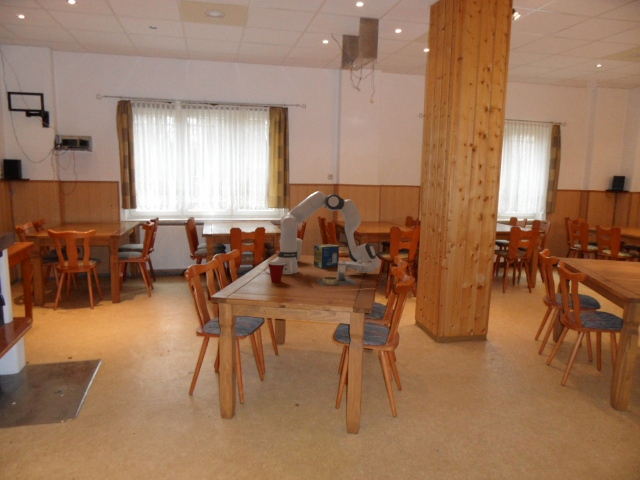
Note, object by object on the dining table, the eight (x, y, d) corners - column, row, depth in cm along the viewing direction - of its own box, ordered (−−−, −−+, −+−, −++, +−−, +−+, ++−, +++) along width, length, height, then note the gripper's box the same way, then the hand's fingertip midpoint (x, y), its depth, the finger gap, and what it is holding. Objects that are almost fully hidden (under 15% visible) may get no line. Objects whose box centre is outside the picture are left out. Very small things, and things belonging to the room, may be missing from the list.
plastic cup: (288, 281, 280) (289, 262, 278) (277, 284, 271) (277, 264, 269) (275, 278, 286) (275, 260, 284) (263, 282, 277) (263, 262, 275)
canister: (295, 265, 332) (296, 236, 329) (274, 262, 340) (274, 234, 337) (306, 261, 349) (307, 234, 346) (286, 259, 356) (286, 232, 353)
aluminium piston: (338, 281, 278) (338, 262, 276) (336, 279, 283) (337, 260, 281) (346, 281, 278) (346, 261, 277) (344, 279, 284) (345, 260, 282)
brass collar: (323, 285, 267) (323, 280, 266) (321, 281, 276) (321, 276, 276) (339, 284, 268) (339, 279, 268) (336, 281, 278) (336, 276, 277)
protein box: (313, 266, 330) (313, 245, 327) (330, 264, 338) (331, 243, 336) (321, 268, 321) (321, 247, 319) (338, 266, 329) (339, 245, 327)
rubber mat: (320, 287, 266) (320, 285, 265) (315, 280, 282) (315, 279, 282) (358, 286, 269) (358, 284, 269) (351, 280, 286) (351, 278, 286)
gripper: (350, 258, 303) (337, 261, 292) (375, 262, 290) (363, 265, 279) (349, 267, 304) (336, 270, 293) (375, 272, 290) (362, 275, 280)
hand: (349, 268), depth 286 cm, fingers open, 8 cm apart
